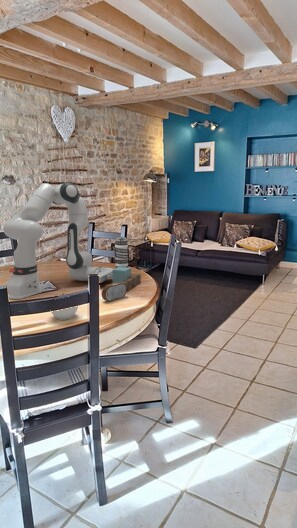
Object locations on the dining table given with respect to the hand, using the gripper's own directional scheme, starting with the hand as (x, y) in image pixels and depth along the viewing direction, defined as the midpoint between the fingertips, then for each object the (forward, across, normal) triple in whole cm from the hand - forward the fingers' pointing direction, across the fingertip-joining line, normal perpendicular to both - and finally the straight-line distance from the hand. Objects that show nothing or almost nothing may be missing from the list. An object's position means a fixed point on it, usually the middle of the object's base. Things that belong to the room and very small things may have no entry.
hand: (115, 276), depth 205 cm
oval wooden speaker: (+11, -24, +5) cm, 27 cm away
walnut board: (+10, 0, +5) cm, 11 cm away
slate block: (+4, 0, +5) cm, 6 cm away
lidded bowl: (+1, -54, +5) cm, 54 cm away
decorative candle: (-5, +19, +5) cm, 20 cm away
